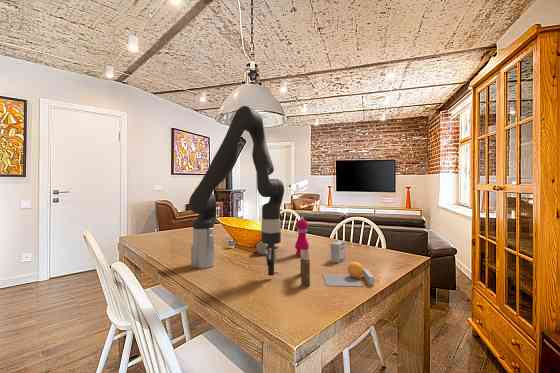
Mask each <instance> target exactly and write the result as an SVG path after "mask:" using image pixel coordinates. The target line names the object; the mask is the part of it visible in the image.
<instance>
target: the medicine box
mask: <svg viewBox="0 0 560 373" xmlns="http://www.w3.org/2000/svg"><path fill="white" fill-rule="evenodd" d="M345 245H346V243H345V241H334V242H332V243H330V262H331V263H336V264H337V263H338V264H340V263H342V262H343V261H344V260H345V259H346V255H345V254H346V246H345Z"/></svg>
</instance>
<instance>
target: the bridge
mask: <svg viewBox="0 0 560 373" xmlns="http://www.w3.org/2000/svg"><path fill="white" fill-rule="evenodd" d="M308 250H309V249H308ZM308 250H300V256H299V258H300V259H299V260H300V268H299V269H300V280H301V281H300V282H301V283H300V285H301V287H304V288H305V287H306V288H307V287H309V288H310V287H311V286H310V285H311V284H310V283H311V281H310V279H311V278H310V277H311V276H310V275H311V258H310V254H309V251H308Z"/></svg>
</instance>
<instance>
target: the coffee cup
mask: <svg viewBox="0 0 560 373" xmlns="http://www.w3.org/2000/svg"><path fill="white" fill-rule="evenodd" d="M228 246H229V249H230V248H233V249H235V240H234V239H232V240H231V239H230V240H229V241H228Z"/></svg>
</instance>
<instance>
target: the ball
mask: <svg viewBox="0 0 560 373" xmlns="http://www.w3.org/2000/svg"><path fill="white" fill-rule="evenodd" d="M363 269H364V267H363V265H362V264H361V263H359V262H358V261H357V262H356V261H353V262H350V263H349V264H348V265H347V274H349V275H350V276H351V277H354V278H358V279H359V278H361V277H362V276H363Z"/></svg>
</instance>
